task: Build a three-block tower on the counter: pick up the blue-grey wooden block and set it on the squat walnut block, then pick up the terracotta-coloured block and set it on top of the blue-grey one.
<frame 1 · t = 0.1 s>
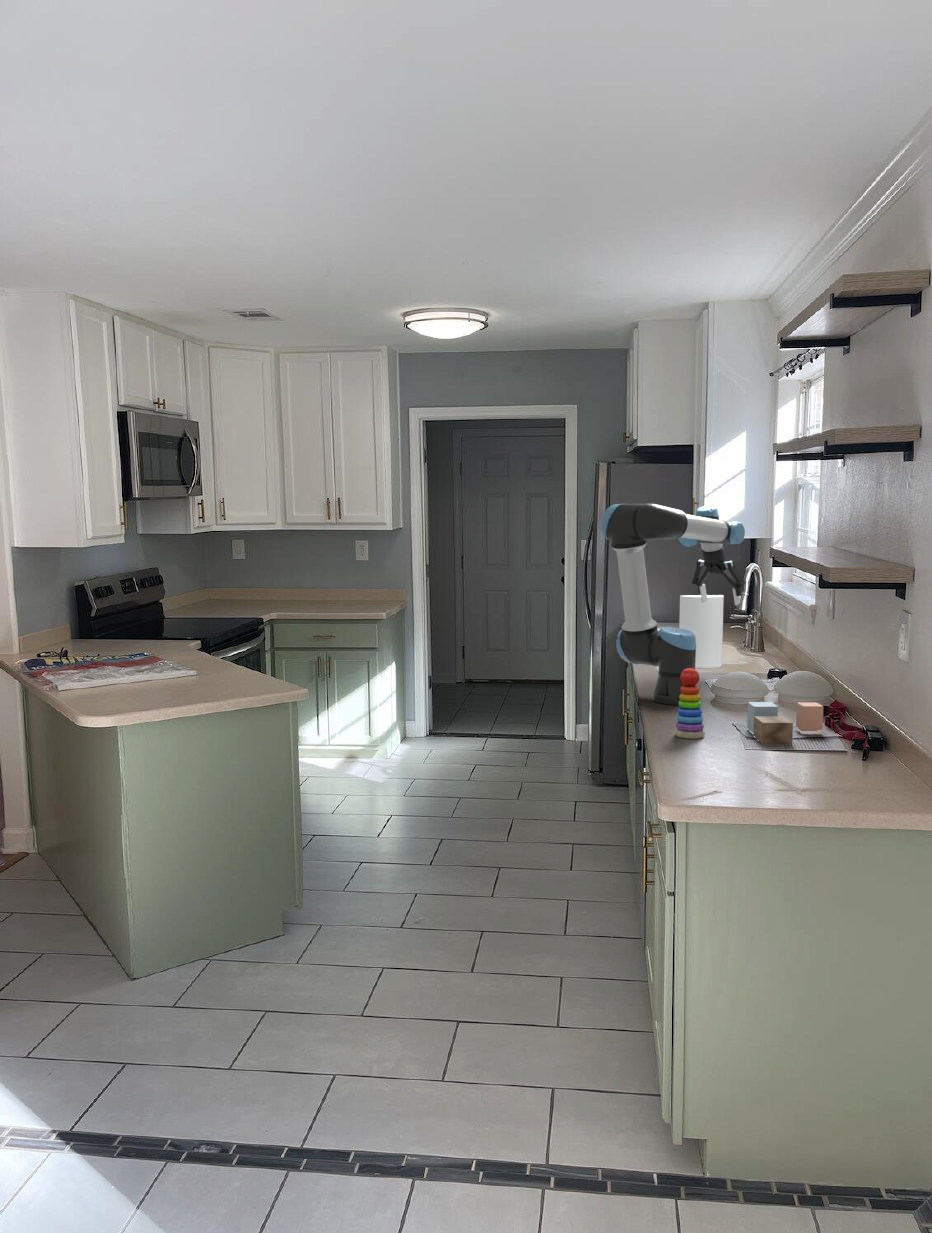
hand: (721, 602, 355), 28 cm above the table, tool tilted 20°, fingers open, 13 cm apart
walnut block: (772, 741, 259), on the table
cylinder: (699, 665, 388), on the table
terracotta block: (808, 732, 269), on the table
blue grey block: (761, 732, 269), on the table
stacking toy: (689, 737, 264), on the table
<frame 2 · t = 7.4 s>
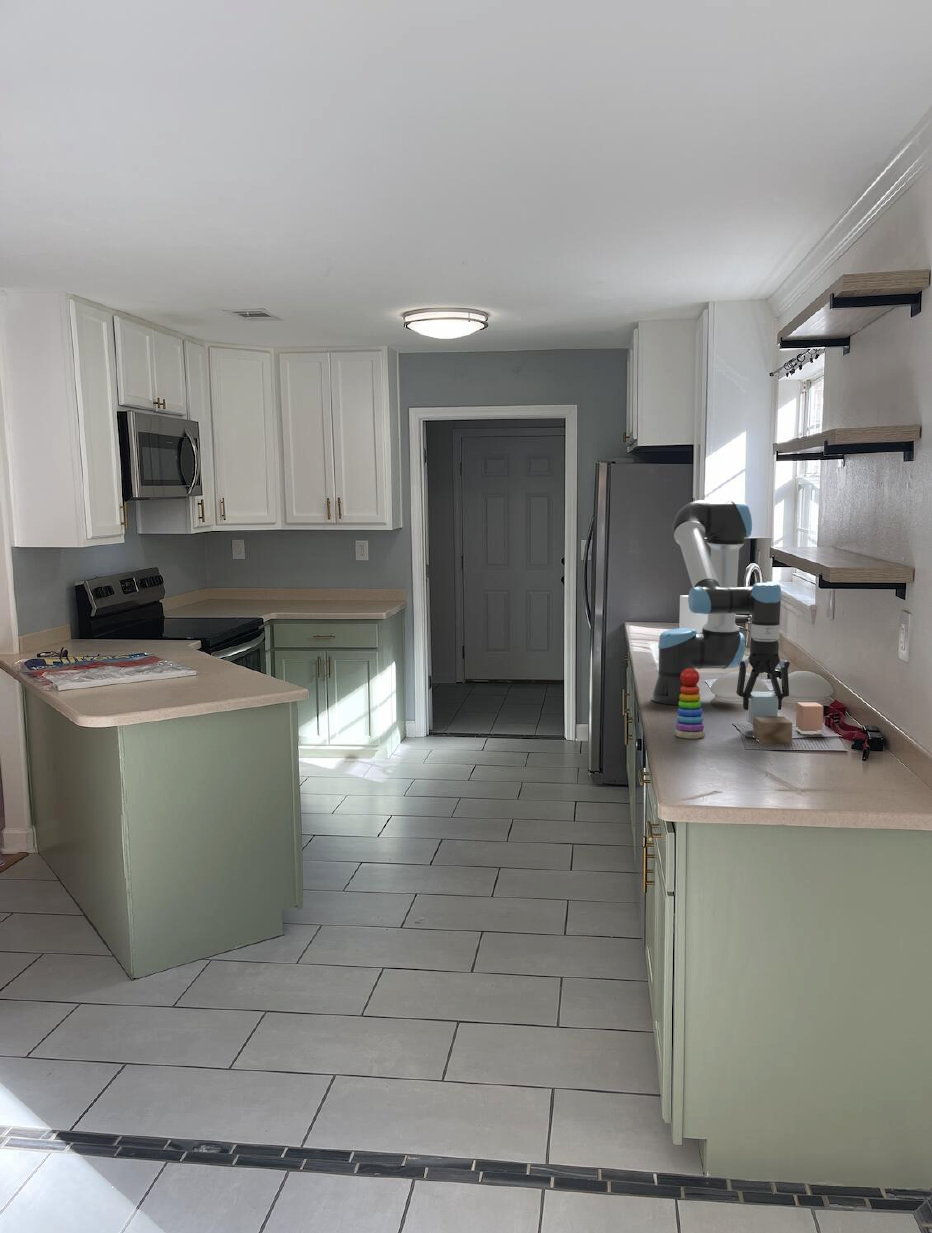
hand: (761, 720, 269), 3 cm above the table, tool pointing down, fingers closed on blue grey block, 6 cm apart
blue grey block: (761, 722, 270), point 3 cm above the table, touching gripper
everything else where it was.
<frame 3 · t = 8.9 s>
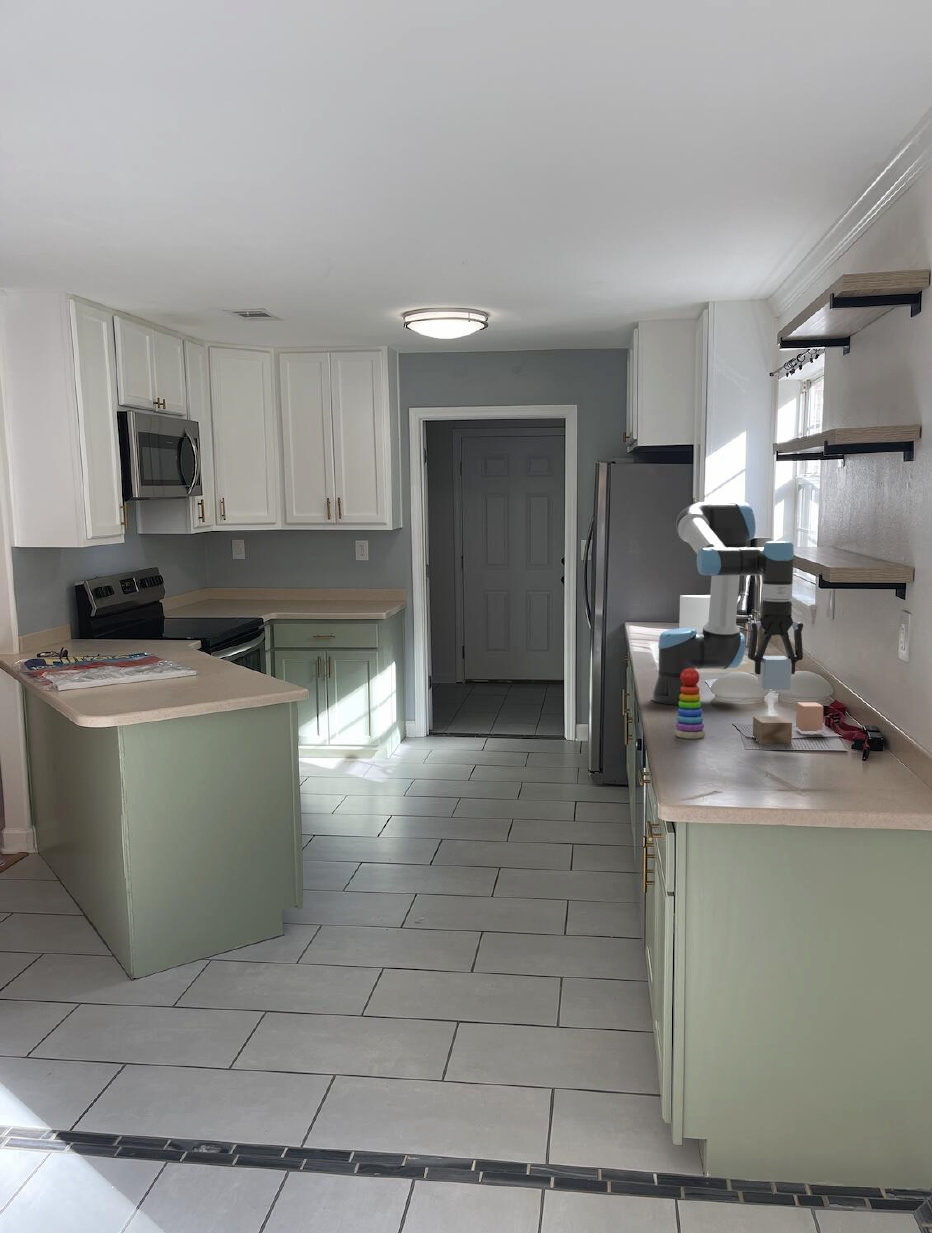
hand: (774, 686, 257), 15 cm above the table, tool pointing down, fingers closed on blue grey block, 6 cm apart
blue grey block: (773, 687, 258), point 14 cm above the table, touching gripper
everything else where it was.
when the fingers open (8 cm above the table, at t = 10.4 s): blue grey block drops 2 cm, resting on walnut block.
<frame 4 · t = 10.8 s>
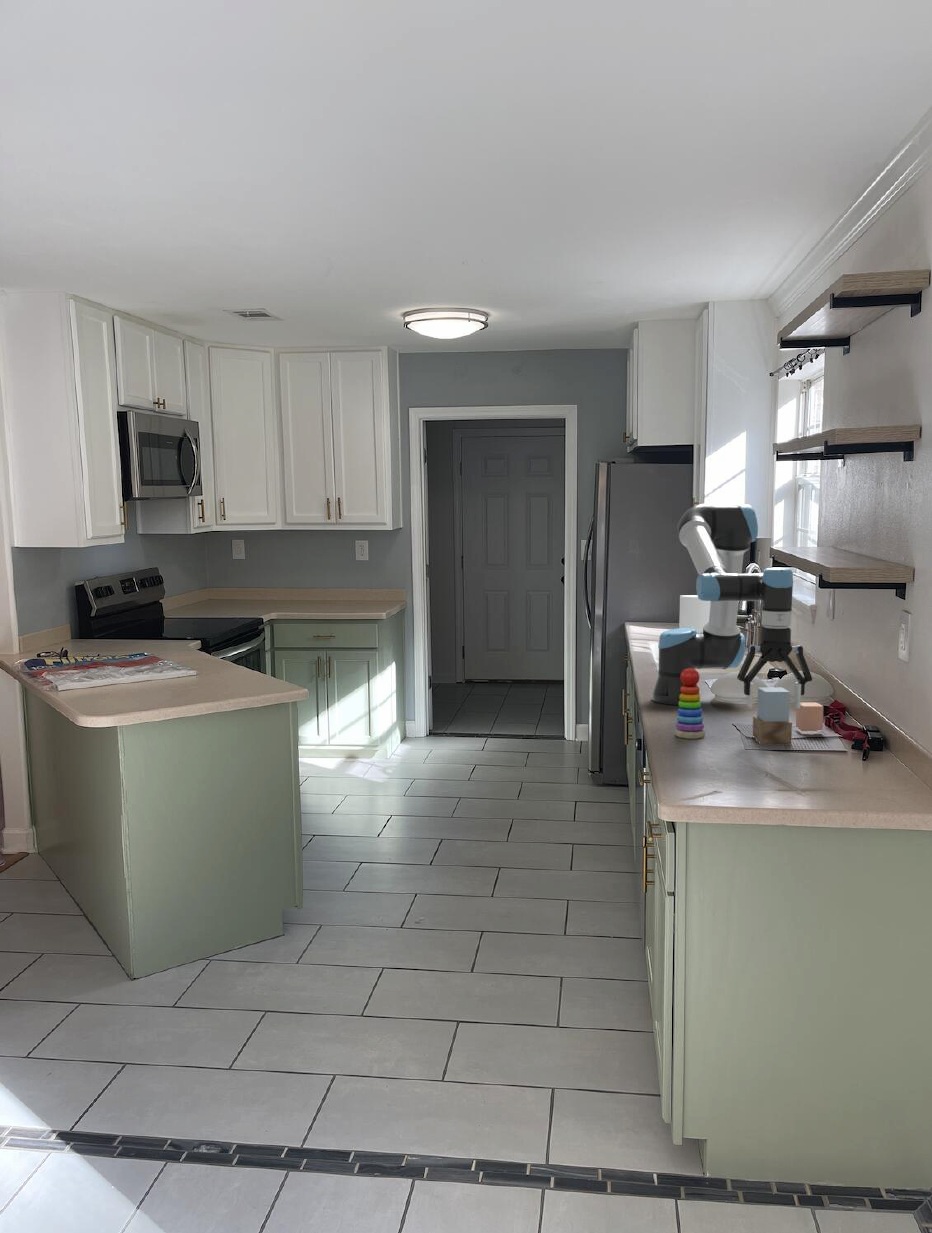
hand: (773, 707, 258), 9 cm above the table, tool pointing down, fingers open, 12 cm apart
walnut block: (771, 741, 259), on the table, touching blue grey block
blue grey block: (772, 719, 259), point 6 cm above the table, touching walnut block
everything else where it was.
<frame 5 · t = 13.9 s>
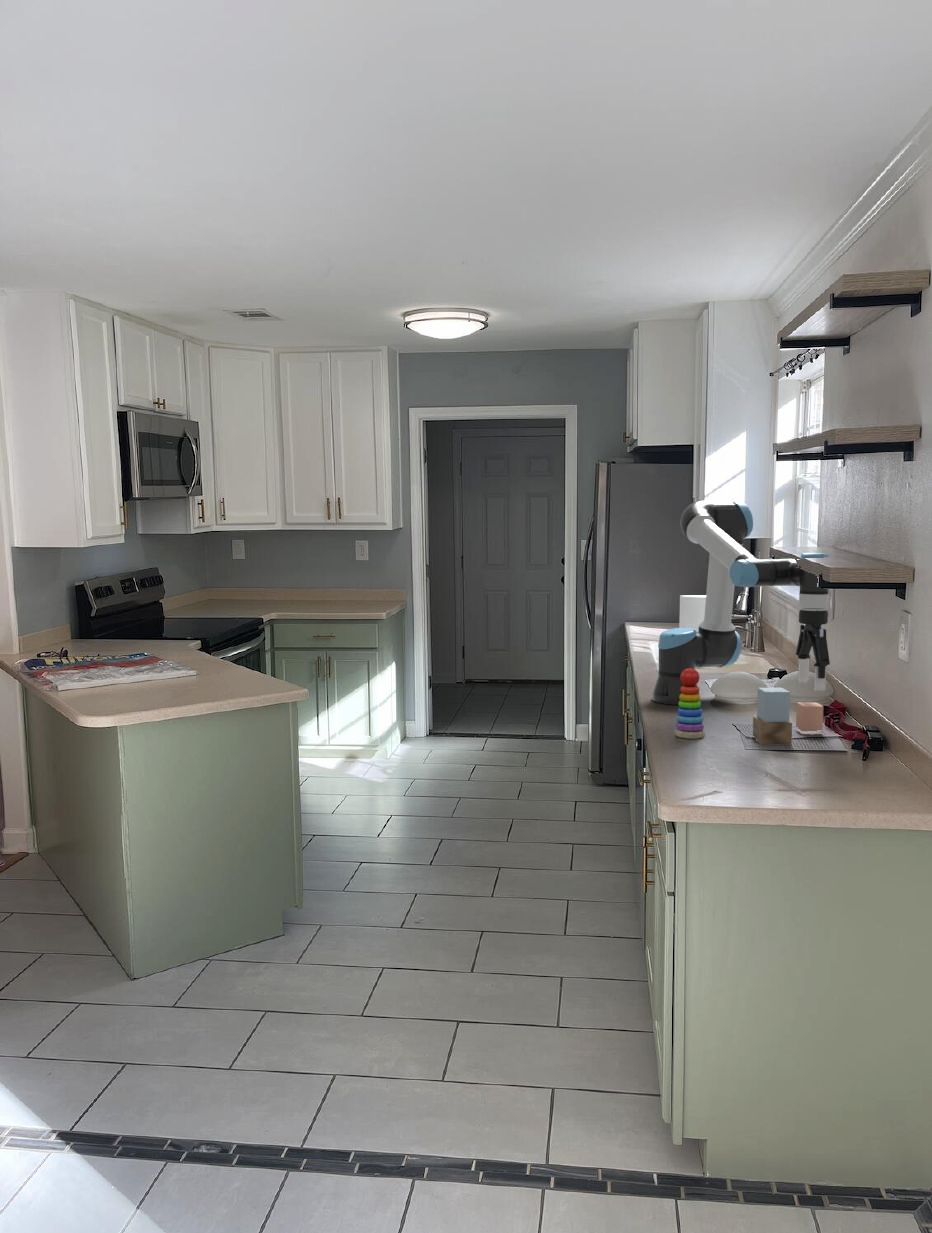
hand: (811, 686, 267), 13 cm above the table, tool pointing down, fingers open, 13 cm apart
nothing on the table moved.
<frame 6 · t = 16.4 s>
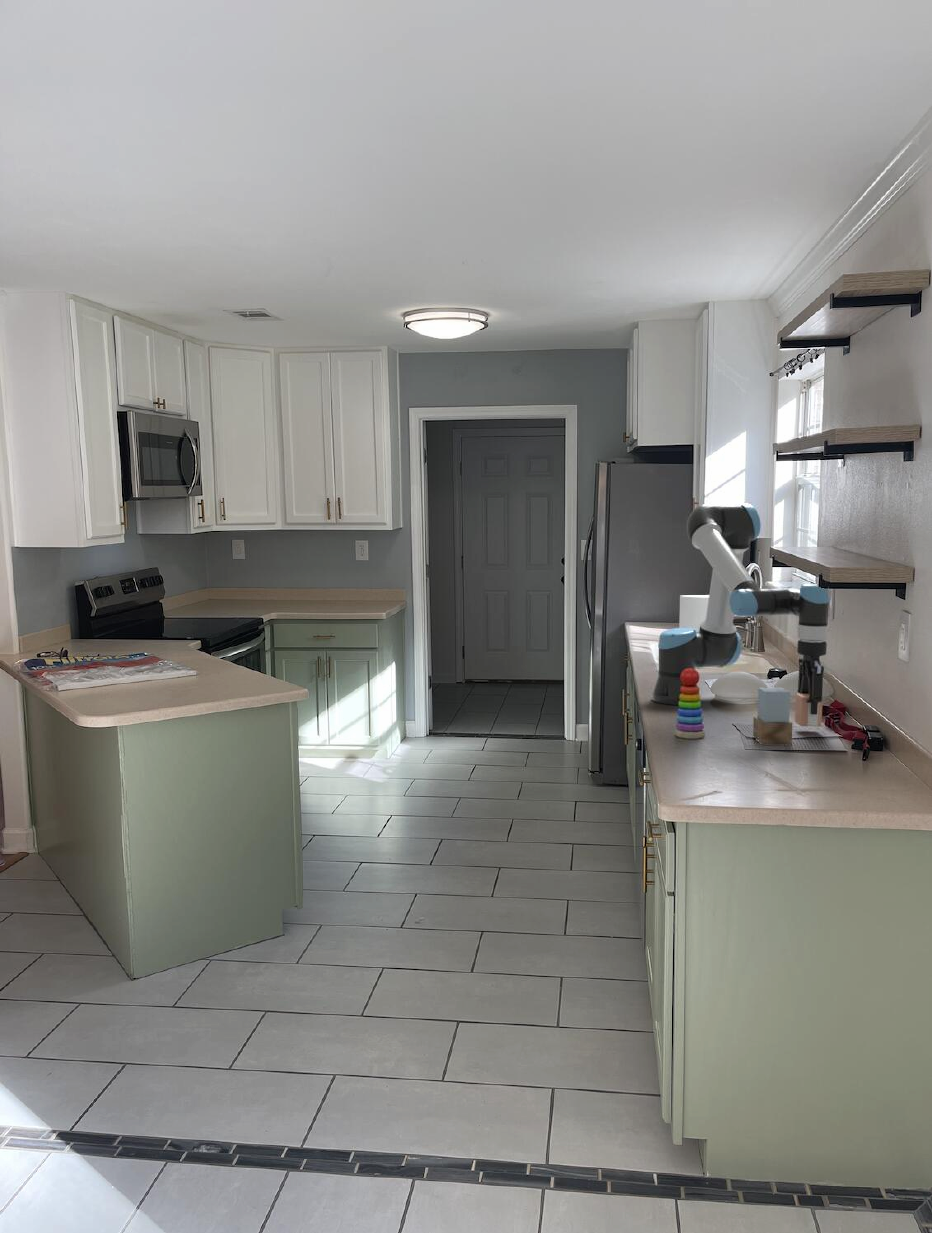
hand: (808, 722, 269), 3 cm above the table, tool pointing down, fingers closed on terracotta block, 5 cm apart
terracotta block: (807, 724, 269), point 2 cm above the table, touching gripper
everything else where it was.
when the fingers open (16 cm above the table, at t = 20.8 s): terracotta block drops 1 cm, resting on blue grey block.
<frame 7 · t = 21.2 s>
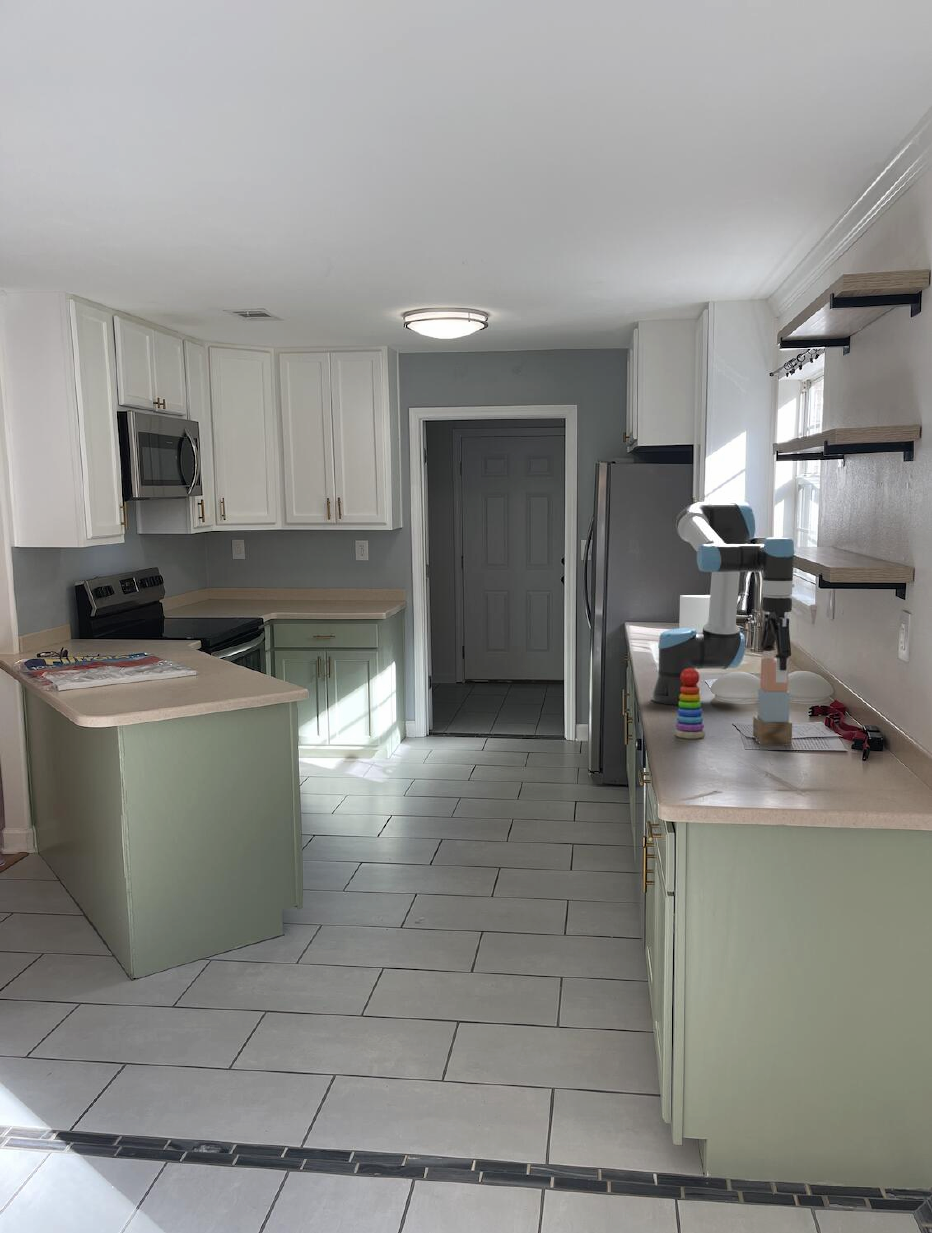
hand: (774, 678, 257), 17 cm above the table, tool pointing down, fingers open, 11 cm apart
walnut block: (771, 741, 259), on the table
terracotta block: (773, 689, 258), point 14 cm above the table, touching blue grey block
blue grey block: (773, 719, 258), point 6 cm above the table, touching terracotta block
everything else where it was.
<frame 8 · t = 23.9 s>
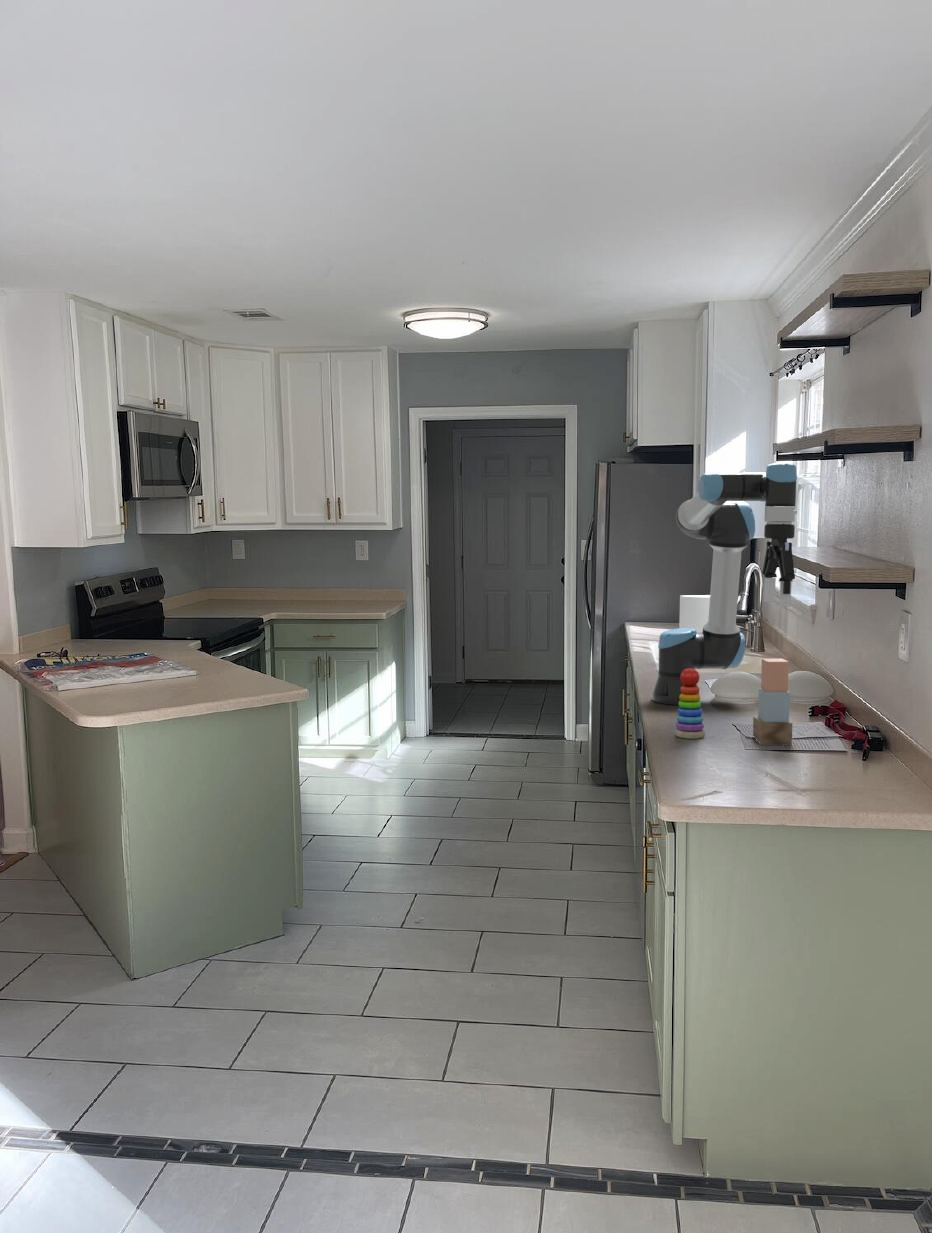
hand: (776, 604, 255), 37 cm above the table, tool pointing down, fingers open, 13 cm apart
walnut block: (771, 741, 259), on the table, touching blue grey block
blue grey block: (773, 719, 258), point 6 cm above the table, touching terracotta block, walnut block
everything else where it was.
at the end: blue grey block 0.3 cm off-centre on the walnut block, point 6.0 cm above the walnut block's base; terracotta block 0.2 cm off-centre on the blue grey block, point 8.0 cm above the blue grey block's base; terracotta block tilted 0° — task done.
